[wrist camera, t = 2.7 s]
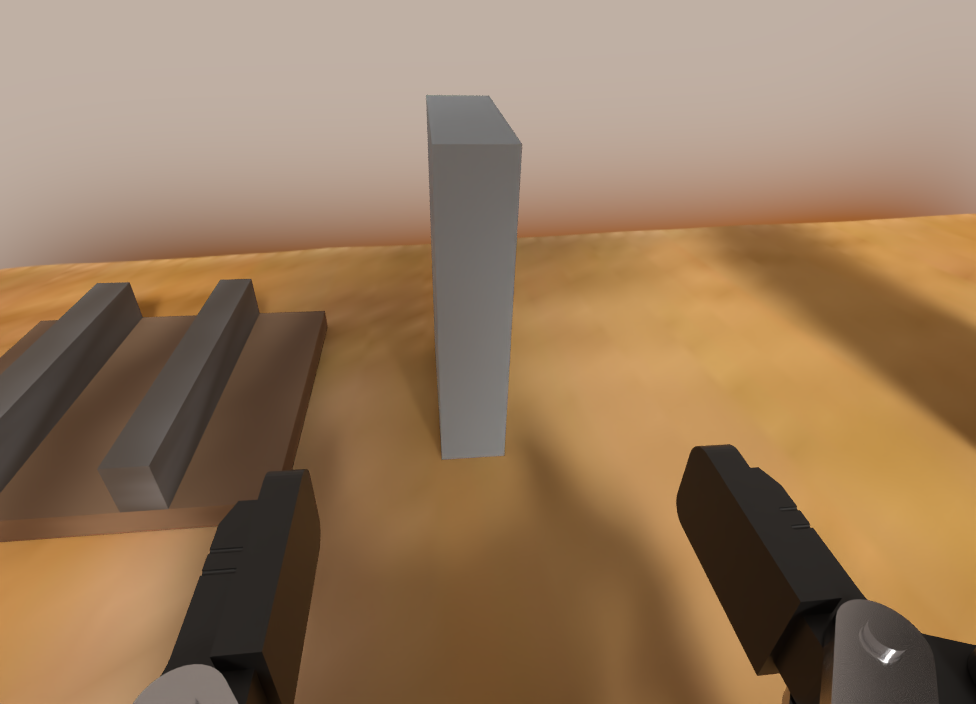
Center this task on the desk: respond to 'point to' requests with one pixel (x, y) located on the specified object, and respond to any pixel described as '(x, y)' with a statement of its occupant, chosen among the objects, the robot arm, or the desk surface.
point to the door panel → (472, 268)
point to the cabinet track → (150, 412)
